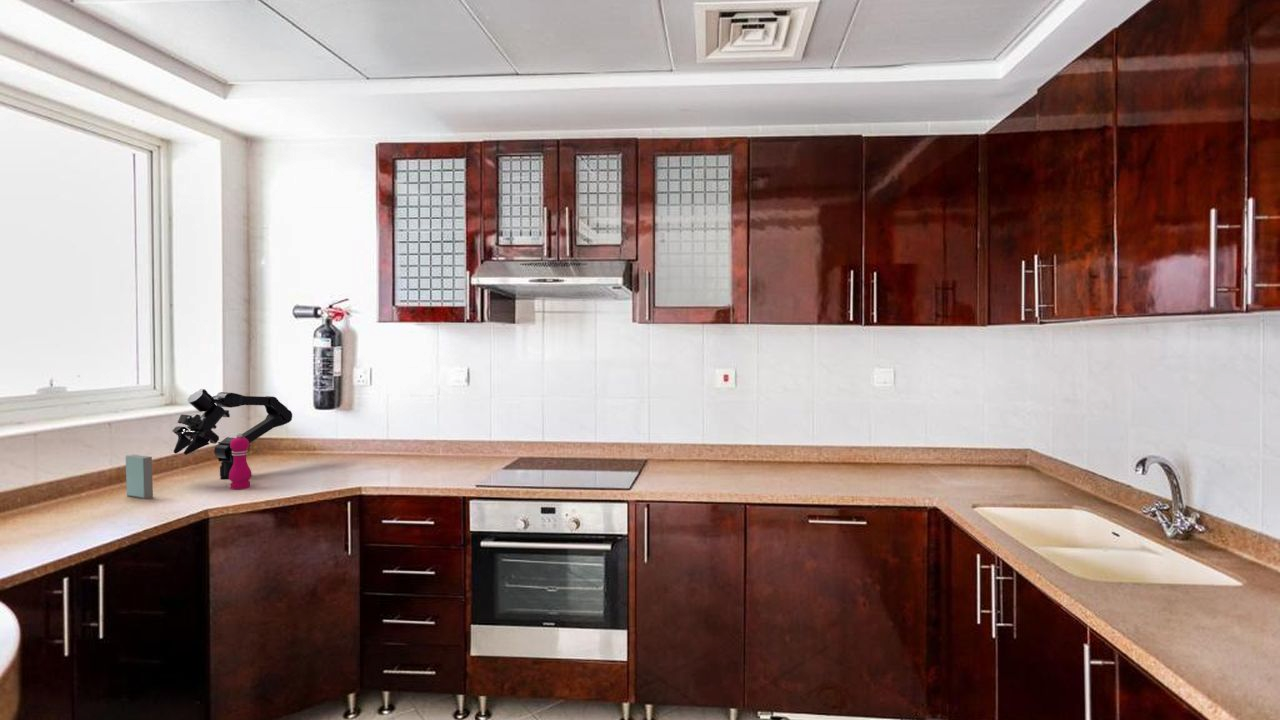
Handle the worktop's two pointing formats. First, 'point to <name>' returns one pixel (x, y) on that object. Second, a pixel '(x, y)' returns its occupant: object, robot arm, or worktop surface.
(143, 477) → the tile
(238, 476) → the pepper mill
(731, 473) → the worktop surface
